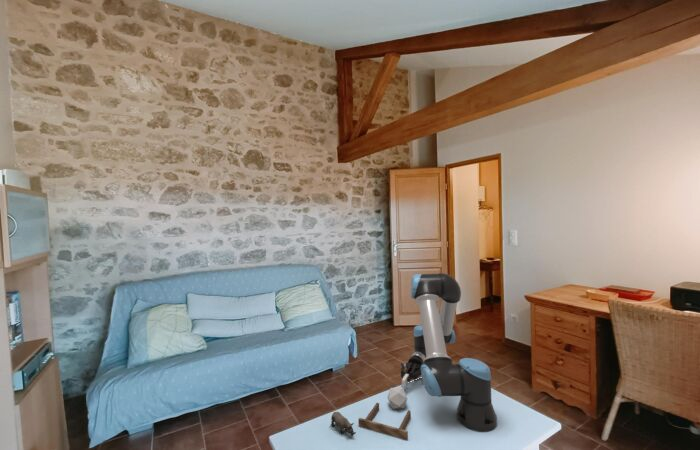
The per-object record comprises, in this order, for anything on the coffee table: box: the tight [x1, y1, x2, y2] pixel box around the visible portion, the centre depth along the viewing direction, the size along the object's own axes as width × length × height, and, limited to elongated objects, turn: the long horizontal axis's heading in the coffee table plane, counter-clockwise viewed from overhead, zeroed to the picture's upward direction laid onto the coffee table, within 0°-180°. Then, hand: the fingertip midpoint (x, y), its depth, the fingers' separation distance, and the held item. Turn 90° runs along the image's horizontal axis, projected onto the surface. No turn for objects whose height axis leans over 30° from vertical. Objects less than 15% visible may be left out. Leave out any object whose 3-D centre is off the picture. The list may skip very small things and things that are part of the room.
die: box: [387, 386, 408, 410], centre depth 139 cm, size 8×9×10 cm
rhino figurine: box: [330, 411, 356, 437], centre depth 124 cm, size 4×14×6 cm, turn 41°
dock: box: [358, 402, 412, 441], centre depth 128 cm, size 20×14×3 cm
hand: (403, 383), depth 148 cm, fingers closed
